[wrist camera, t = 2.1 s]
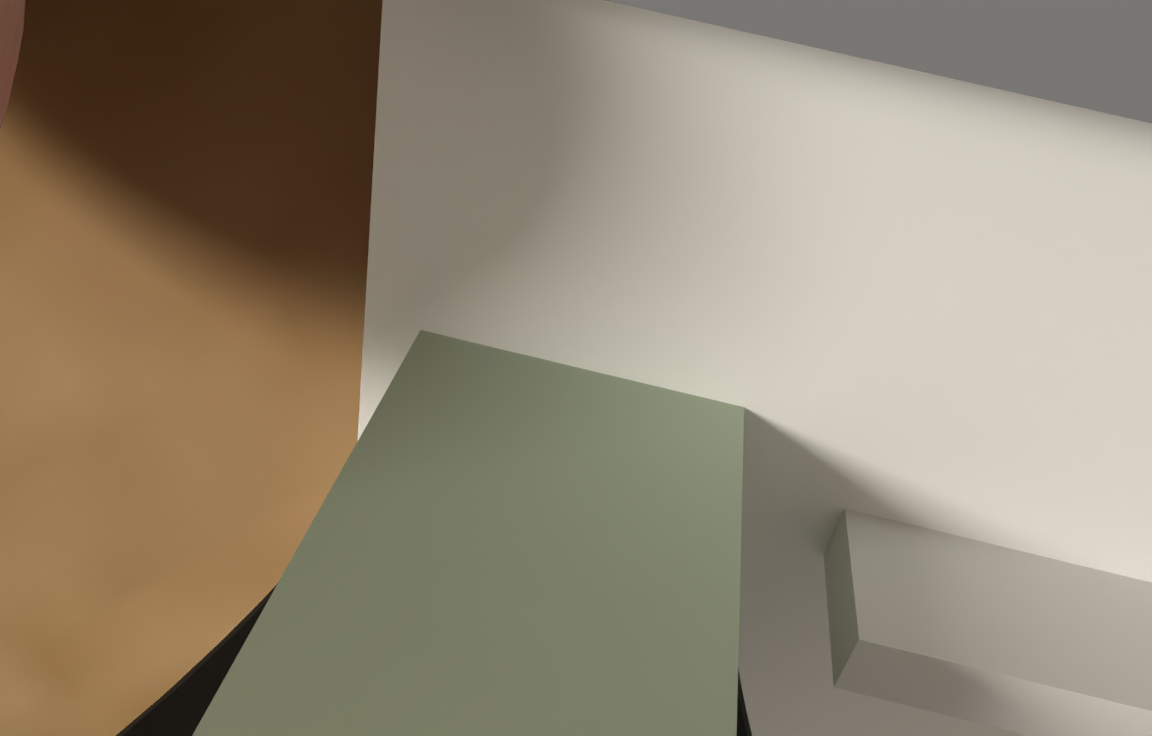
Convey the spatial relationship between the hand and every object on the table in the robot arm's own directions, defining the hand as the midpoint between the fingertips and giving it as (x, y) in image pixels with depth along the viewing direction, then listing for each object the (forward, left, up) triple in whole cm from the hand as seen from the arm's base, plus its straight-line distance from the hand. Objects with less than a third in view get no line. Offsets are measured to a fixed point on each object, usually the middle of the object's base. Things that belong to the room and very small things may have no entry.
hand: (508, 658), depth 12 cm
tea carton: (0, 0, -1) cm, 1 cm away
